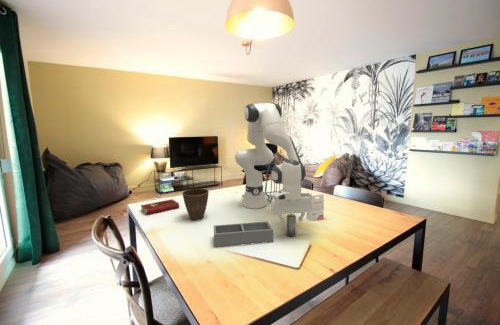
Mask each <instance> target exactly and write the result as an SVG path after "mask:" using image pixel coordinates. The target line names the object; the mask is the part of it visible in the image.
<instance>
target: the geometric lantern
mask: <svg viewBox="0 0 500 325" xmlns="http://www.w3.org/2000/svg"><path fill="white" fill-rule="evenodd" d="M285 160H289V159H288V158H287V157H284V156H283V155H281V154H280V153H278V152H275V153H273V160H272V162H271V163H269V164H265V166H266V167H267V169H266V172H265V181H268V178H269V176H268V175H269V173H271V170H272V167H271V165H273V167H274V166H277V165H279V164H282V163H283V162H284V161H285ZM270 180H271V182H270V191H267V189H268V188H267V187H268V182H265V185H264V193H265V196H266V197H267V200H268V201H270V202H271V200H272V199H273V198H274V197H273V195H272V194H273V193H274V192H276V191H279V190H281V184H276V183H275V182H274V181H273V180H272V179H270ZM278 186H279V188H278ZM272 188H273V191H272ZM277 189H279V190H277Z"/></svg>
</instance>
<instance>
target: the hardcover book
mask: <svg viewBox="0 0 500 325" xmlns="http://www.w3.org/2000/svg"><path fill="white" fill-rule="evenodd" d="M140 208H141V211H142V213H144V214H145V216H146V217H147V216H150V215H151V216H152V215H156V214H161V213H165V212H168V211H172V210H173V211H174V210H178V209H180V203H179V202H178V201H175V200H174V199H173V198H172V199H168V200H166V199H165V200H162V201H156V202H151V203H146V204H142V205H140Z"/></svg>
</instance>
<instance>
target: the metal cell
mask: <svg viewBox="0 0 500 325" xmlns="http://www.w3.org/2000/svg"><path fill="white" fill-rule="evenodd" d="M296 226H297V216H296V215H295V214H294V213H289V214H286V230H285V231H286V233H285V234H286V237H288V238H295V237H296V233H297V232H296V228H297V227H296Z"/></svg>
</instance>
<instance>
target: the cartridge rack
mask: <svg viewBox="0 0 500 325" xmlns="http://www.w3.org/2000/svg"><path fill="white" fill-rule="evenodd" d="M272 241H273V242H274V229H273V227H272V226H271V224H270V223H269V221H268V220H267V221H266V220H265V221H255V222H242V223H228V224H215V225H213V245H214V246H213V247H214V248H221V247H223V248H224V247H232V246H242V245H241V244H245V245H252V244H251V243H256V244H263V243H262V242H267V243H273V242H272Z"/></svg>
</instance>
